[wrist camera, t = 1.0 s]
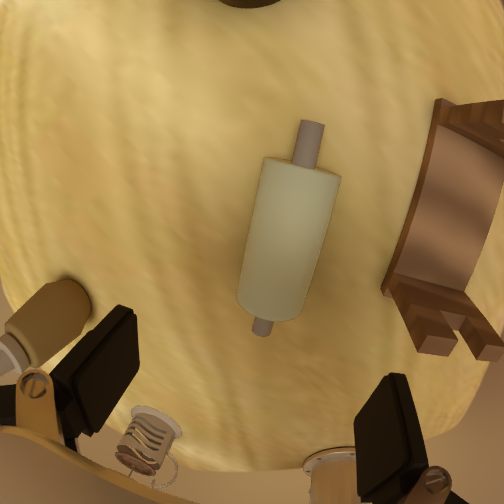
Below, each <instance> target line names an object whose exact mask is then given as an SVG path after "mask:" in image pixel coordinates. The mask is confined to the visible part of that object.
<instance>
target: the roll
mask: <svg viewBox="0 0 504 504" xmlns="http://www.w3.org/2000/svg"><path fill="white" fill-rule="evenodd" d="M324 126H325V125H323V124H320V123H316V122H312V121H307V120H301V123H300V127H299V132H298V136H297V141H296V145H295V150H294V154H293V159H292V161H289V160H284V159H278V158H270V157H265V158H264V161H263V166H262V171H261V175H260V180H259V185H258V190H257V195H256V200H255V205H254V209H253V214H252V219H251V224H250V229H249V234H248V239H247V244H246V249H245V254H244V259H243V264H242V269H241V274H240V279H239V284H238V289H237V294H236V299H237V301H238V303H239V305H240V306H241V307H242V308H243V309H244V310H245V311H247V312H248V313H250V314H252V315H254V316H255V319H254V323H253V327H252V331H253V333H254V334H256V335H257V336H261V337H266V336H269V335H270V333H271V329H272V326H273V323H274V321H288V320H292V319H294V318H296V317H297V316H299V314H300V313H301V311H302V308H303V305H304V302H305V299H306V296H307V293H308V290H309V287H310V284H311V280H312V277H313V274H314V271H315V268H316V265H317V261H318V258H319V255H320V252H321V248H322V245H323V242H324V238H325V235H326V231H327V228H328V224H329V221H330V217H331V214H332V210H333V207H334V203H335V199H336V195H337V192H338V188H339V184H340V180H341V176H340V175H338V174H335V173H333V172H330V171H327V170H324V169H321V168H318V167H315V165H316V161H317V157H318V153H319V148H320V144H321V139H322V135H323V131H324Z"/></svg>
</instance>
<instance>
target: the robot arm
mask: <svg viewBox="0 0 504 504" xmlns="http://www.w3.org/2000/svg"><path fill="white" fill-rule="evenodd" d="M139 366H140V360H139V346H138V329H137V316H136V314H134V312H133V309H130V308H128V307H125V306H122V305H120V304H119V305H117V306H115V307H114V309H113V310H112V311H111V312H110V313H109V314H108V315H107V316H106V317H105V318H104V319H103V320H102V321H101V322H100V323H99V324H98V325H97V326H96V327H95V328H94V329H93V330H90V331H89V332H88V333H87V334H86V335H85V336H84V337H83V338H82V339H81V340H80V341H79V342H78V343H77V344H76V345H75V346H74V347H73V348H72V349H71V351H70V352H69V353H68V354H67V355H66V356H65V357H64V358H63V359H62V360H61V361H60V362H59V364H58V365H57V366H56V367H55V368H54V369H53V370H52V371H51V372H50V374H47V373H46V372H45V371H42V370H37V369H33V370H28V371H26V372H24V373H23V374H22V375H21V376H20V377H19V378H18V380H17V383H16V384H13V385H4V386H0V504H200V503H196V502H193V501H189V500H186V499H183V498H179V497H177V496H173V495H171V494H168V493H165V492H162V491H159V490H156V489H154V488H151V487H149V486H146V485H144V484H141V483H138V482H136V481H134V480H132V479H129V478H127V477H125V476H123V475H120V474H118V473H116V472H114V471H112V470H110V469H108V468H105V467H103V466H101V465H99V464H97V463H95V462H93V461H92V460H90V459H88V458H86V457H84V456H82V455H81V454H80V449H79V445H78V440H77V438H78V436H79V435H80V434H81V432H82V433H84V434H86V435H88V436H89V437H91V436H92V435H93V433H94V432H95V433H98V432H99V431H100V429H101V428H102V426H103V425H104V423H105V421H106V420H107V418H108V417H109V415H110V414H111V412H112V410H113V409H114V407H115V406H116V404H117V403H118V401H119V400H120V398H121V396H122V395H123V393H124V392H125V390H126V389H127V387H128V386H129V384H130V383H131V381H132V380H133V378H134V376H135V375H136V373H137V372H138V370H139ZM354 437H355V448H348V447H345V448H335V449H329V450H325V451H322V452H319V453H316V454H314V455H312V456H310V457H309V458H308V459H306V460H305V462H304V465H303V470H304V472H305V473H306V474H307V475H308V476H310V477H311V489H310V490H309V494H310V503H309V504H368V503H371V502H372V504H469V503H467V502H466V501H465V500H463V499H462V498H460V497H459V496H458V495H457V494H455V493H454V492H452V491H451V487H452V479H451V476H450V474H449V473H448V471H446V470H445V469H444V468H442V467H440V466H430V467H429V464H428V458H427V454H426V449H425V445H424V440H423V436H422V432H421V428H420V424H419V420H418V416H417V412H416V409H415V405H414V402H413V398H412V395H411V391H410V388H409V384H408V381H407V378H406V376H405V374H400V373H392V372H391V373H389V374H388V375H387V376H384V377H383V379H382V380H381V382H380V383H379V385H378V386H377V388H376V389H375V390H374V392H373V393H372V395H371V396H370V398H369V399H368V401H367V402H366V403H365V405H364V406H363V407H362V409H361V410H360V412H359V413H358V414H357V416H356V417H355V419H354Z"/></svg>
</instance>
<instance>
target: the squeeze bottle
mask: <svg viewBox="0 0 504 504" xmlns="http://www.w3.org/2000/svg"><path fill="white" fill-rule="evenodd" d="M90 311H91V304H90V301H89V298H88V295H87V294H86V292H85V291H84V289H83V288H82V287H81V286H80V285H79V284H78V283H76V282H74V281H72V280H62V281H57V282H52V283H47V284H45V285H44V286H43V287H42V288H41V289H40V290H38V291H37V292H36V293H35V294H34V295H33V296H32V297H31V298H30V299H29V300H28V301H27V302H26V303H25V304H24V305H23V306H22V307H21V308H20V309H19V310H18V311H17V312H16V313H15V314H14V315H13V316H12V317H11V318H10V319H9V320H8V321H7V322H6V323H5V334H4V335H3V336H1V337H0V376H2V375H4V374H6V373H7V372H9V371H11V370H13V371H14V372H15V373H17V374H19V375H20V374H22V373H23V372H24V371H25V370H26V369H27V368H28V367H29V366H30V367H34V368H38V367H40V366H42V365H43V364H44V363H45V362H46V361H48V360H49V359H50V358H51V357H53V356H54V355H55V354H56V353H58V352H59V351H60V350H61V349H63V348H64V347H65V346H66V345H68V344H69V343H70V342H72V341H73V340H74V339H75V338H77V337H78V336H79V335H80V334H81V332H82V330H83V328H84V325H85V323H86V321H87V318H88V316H89V314H90Z"/></svg>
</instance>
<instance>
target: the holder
mask: <svg viewBox="0 0 504 504" xmlns="http://www.w3.org/2000/svg"><path fill="white" fill-rule="evenodd" d="M503 182H504V100H496V101H487V102H479V103H471V104H464V105H455V104H453V103H451V102H449V101H447V100H445V99H443V98H440V99H436V100H435V105H434V111H433V116H432V122H431V127H430V132H429V136H428V141H427V145H426V150H425V154H424V158H423V162H422V166H421V170H420V174H419V178H418V181H417V185H416V189H415V192H414V196H413V199H412V202H411V206H410V209H409V212H408V215H407V218H406V221H405V224H404V227H403V230H402V233H401V236H400V239H399V242H398V245H397V247H396V250H395V253H394V255H393V258H392V261H391V263H390V266H389V269H388V271H387V274H386V276H385V279H384V281H383V283H382V286H381V291H382V293H383V295H384V296H387V297H391V298H393V299H394V301H395V303H396V305H397V307H398V309H399V311H400V313H401V316H402V318H403V320H404V322H405V324H406V327H407V329H408V331H409V334H410V336H411V338H412V340H413V343H414V345H415V348H416V350H417V352H418V353H425V354H432V355H439V356H447V357H448V356H449V355H450V353H451V351H452V350H453V348H454V347H455V345H456V343H457V342H458V339H457V337H456V335H455V334H454V332H453V330H458V331H459V332H460V334H461V335H462V337H463V338H464V340H465V342H466V343H467V345H468V347H469V348H470V350H471V352H472V353H473V355H474V357H475V359H476V360H481V361H491V362H498V361H499V359H500V358H501V356H502V355H503V353H504V342H503V341H502V340H501V338H500V337H499V335H498V334H497V333H496V331H495V330H494V329H493V327H492V326H491V325H490V323H489V322H488V321H487V319H486V318H485V317H484V316H483V314H482V313H481V312H480V311H479V309H478V308H477V307H476V306H475V304H474V303H473V302H472V301H471V299H470V298H469V297H468V296H467V295H466V293H465V292H464V290H465V288H466V286H467V284H468V282H469V280H470V277H471V275H472V273H473V270H474V268H475V266H476V263H477V261H478V259H479V256H480V254H481V251H482V248H483V246H484V243H485V240H486V238H487V235H488V232H489V229H490V226H491V223H492V220H493V217H494V214H495V211H496V207H497V204H498V200H499V197H500V193H501V189H502V186H503Z"/></svg>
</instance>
